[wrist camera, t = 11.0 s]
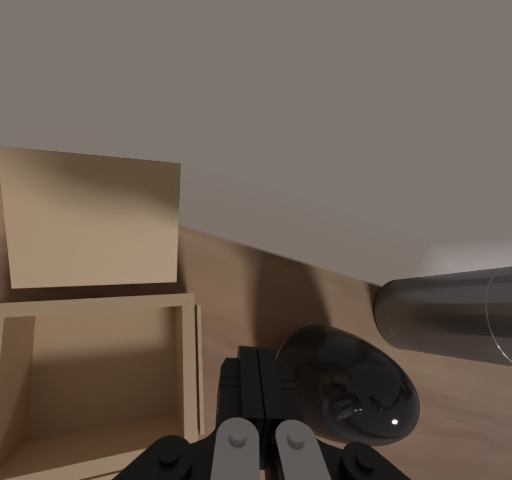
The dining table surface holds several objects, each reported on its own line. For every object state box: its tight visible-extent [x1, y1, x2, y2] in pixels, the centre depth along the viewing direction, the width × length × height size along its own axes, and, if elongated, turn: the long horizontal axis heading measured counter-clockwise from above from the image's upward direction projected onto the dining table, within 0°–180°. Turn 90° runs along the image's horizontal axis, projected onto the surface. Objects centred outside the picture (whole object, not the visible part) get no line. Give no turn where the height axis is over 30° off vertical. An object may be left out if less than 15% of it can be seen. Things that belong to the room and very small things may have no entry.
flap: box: [0, 147, 181, 289], centre depth 22 cm, size 11×1×9 cm
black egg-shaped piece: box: [276, 325, 420, 446], centre depth 27 cm, size 10×10×15 cm
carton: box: [0, 293, 204, 480], centre depth 25 cm, size 15×13×7 cm
